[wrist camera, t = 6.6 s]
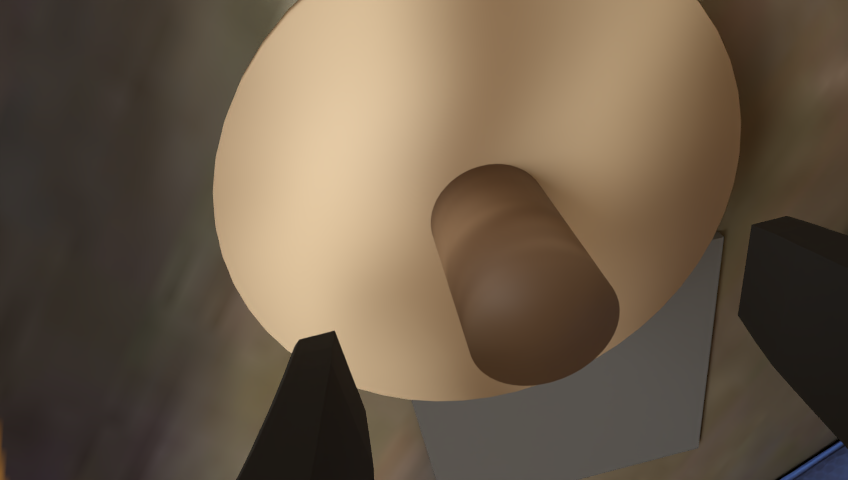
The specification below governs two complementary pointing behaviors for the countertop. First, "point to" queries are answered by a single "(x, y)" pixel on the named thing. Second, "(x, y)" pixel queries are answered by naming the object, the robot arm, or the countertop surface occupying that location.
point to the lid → (474, 182)
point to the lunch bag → (824, 466)
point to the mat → (591, 403)
